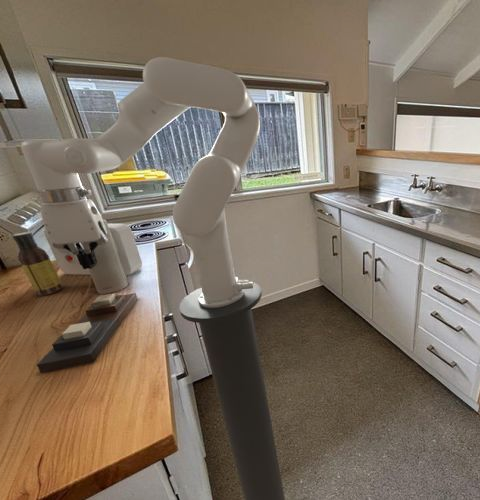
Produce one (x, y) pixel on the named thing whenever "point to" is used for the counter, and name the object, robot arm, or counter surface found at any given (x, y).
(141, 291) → the counter surface
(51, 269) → the sauce bottle
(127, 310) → the walnut key block
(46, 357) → the black key block
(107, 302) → the low key
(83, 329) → the high key
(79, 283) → the counter surface
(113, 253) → the thermos bottle
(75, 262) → the rounded white slab
